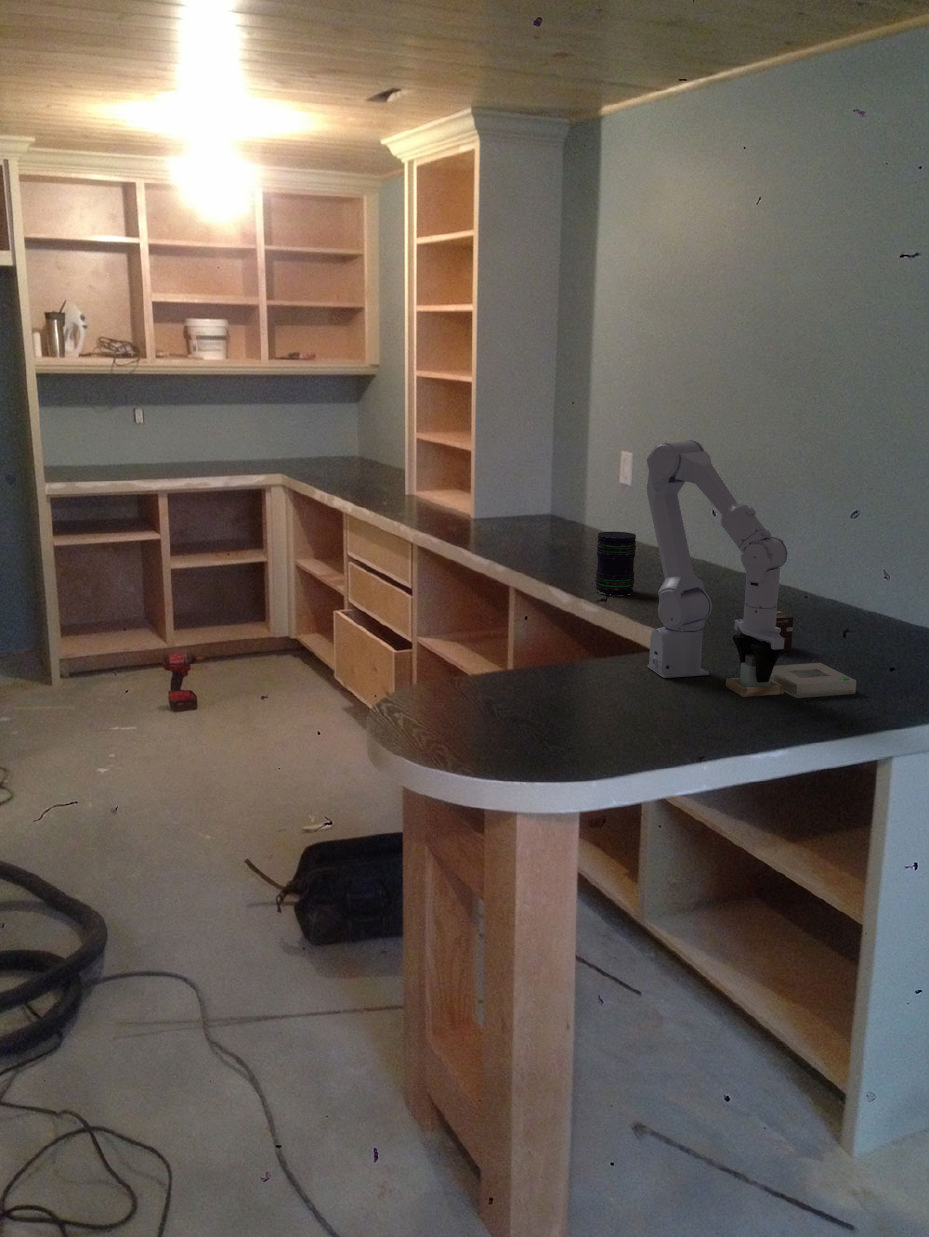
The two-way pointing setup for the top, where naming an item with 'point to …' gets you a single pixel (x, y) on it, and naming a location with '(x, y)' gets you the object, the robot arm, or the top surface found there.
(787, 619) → the box
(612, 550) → the storage jar
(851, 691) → the port
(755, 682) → the plug
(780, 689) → the tan square frame
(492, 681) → the top surface
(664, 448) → the robot arm
